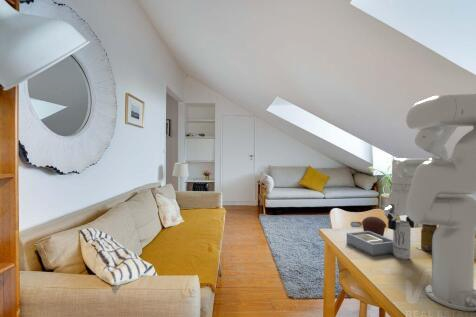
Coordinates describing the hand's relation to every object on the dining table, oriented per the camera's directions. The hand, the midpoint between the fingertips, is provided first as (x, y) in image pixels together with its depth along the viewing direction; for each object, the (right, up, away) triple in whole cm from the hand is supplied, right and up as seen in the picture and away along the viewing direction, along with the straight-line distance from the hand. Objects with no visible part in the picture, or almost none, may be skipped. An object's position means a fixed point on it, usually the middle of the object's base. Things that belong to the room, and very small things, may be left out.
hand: (401, 228), depth 106 cm
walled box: (-8, -12, +10) cm, 17 cm away
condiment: (+18, -12, +7) cm, 22 cm away
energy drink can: (0, -12, 0) cm, 12 cm away
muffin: (+3, -12, +26) cm, 29 cm away
